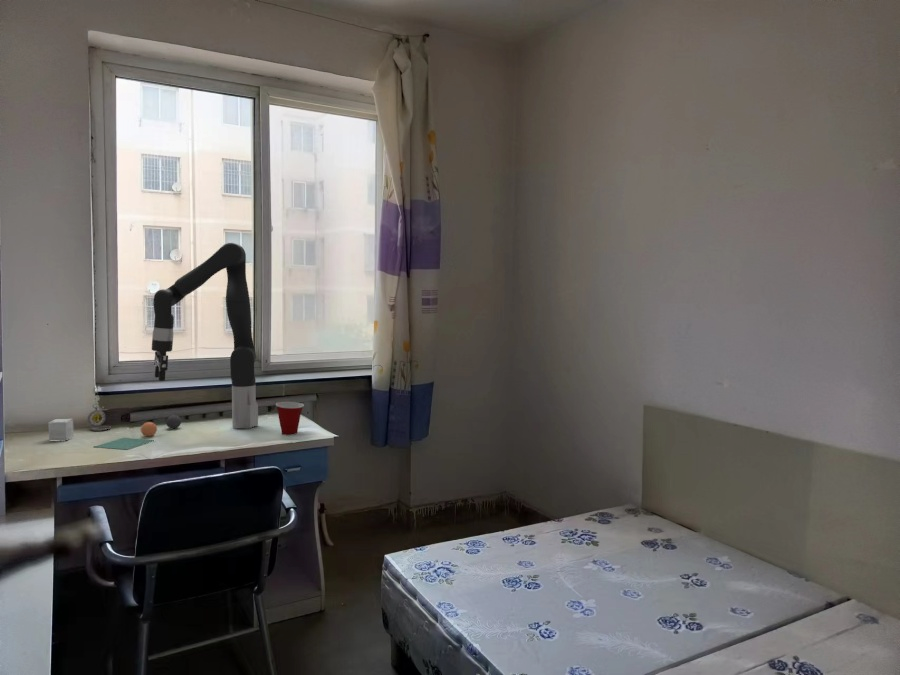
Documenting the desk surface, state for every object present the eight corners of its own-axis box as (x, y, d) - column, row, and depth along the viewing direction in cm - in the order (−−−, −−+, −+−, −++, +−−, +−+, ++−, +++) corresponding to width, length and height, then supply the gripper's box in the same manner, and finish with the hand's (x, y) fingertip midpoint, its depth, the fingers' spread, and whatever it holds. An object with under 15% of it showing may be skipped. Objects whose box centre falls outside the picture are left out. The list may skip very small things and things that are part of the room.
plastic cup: (299, 437, 231) (299, 406, 230) (271, 436, 231) (271, 405, 231) (307, 430, 242) (307, 401, 241) (281, 430, 242) (281, 400, 241)
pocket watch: (104, 431, 236) (103, 406, 236) (83, 431, 236) (82, 406, 236) (116, 427, 244) (115, 403, 244) (96, 427, 245) (95, 402, 244)
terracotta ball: (160, 435, 231) (159, 421, 231) (150, 438, 226) (149, 424, 226) (147, 434, 233) (147, 420, 232) (137, 437, 227) (137, 423, 227)
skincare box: (74, 437, 226) (73, 418, 226) (66, 441, 220) (65, 421, 220) (56, 438, 225) (55, 418, 225) (48, 442, 219) (47, 422, 219)
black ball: (184, 427, 245) (183, 414, 245) (175, 430, 240) (174, 416, 239) (172, 426, 246) (172, 413, 246) (163, 429, 241) (162, 416, 241)
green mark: (155, 440, 223) (155, 440, 223) (127, 449, 209) (127, 449, 209) (123, 438, 226) (123, 437, 226) (93, 447, 213) (93, 446, 213)
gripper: (176, 341, 237) (173, 382, 238) (169, 337, 249) (166, 376, 250) (155, 340, 233) (152, 381, 234) (149, 336, 245) (146, 376, 245)
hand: (159, 378), depth 242 cm, fingers open, 8 cm apart
